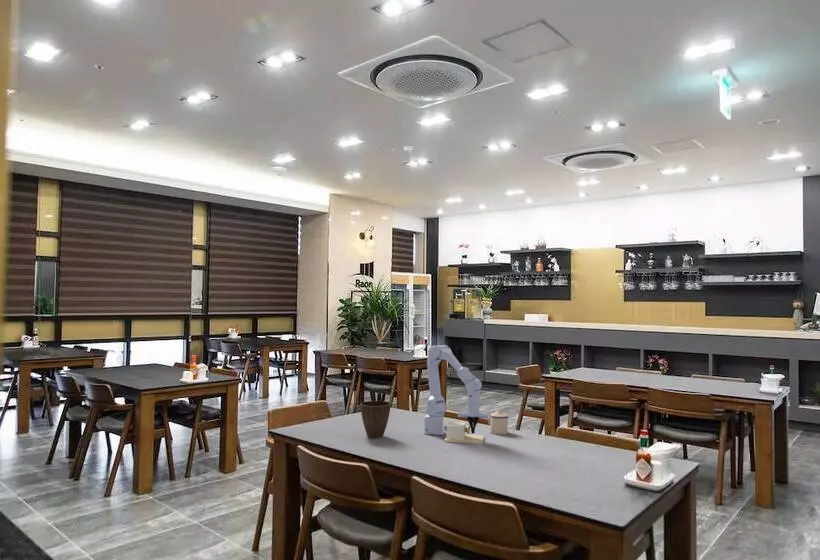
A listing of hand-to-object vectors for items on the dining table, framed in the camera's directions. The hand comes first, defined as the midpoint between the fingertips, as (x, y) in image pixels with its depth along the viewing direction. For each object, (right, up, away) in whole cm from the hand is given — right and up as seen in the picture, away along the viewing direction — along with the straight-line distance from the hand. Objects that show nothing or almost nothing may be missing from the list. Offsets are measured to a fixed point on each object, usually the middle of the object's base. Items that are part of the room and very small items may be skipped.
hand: (472, 433), depth 274 cm
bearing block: (-4, -3, +1) cm, 5 cm away
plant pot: (-47, -3, +3) cm, 47 cm away
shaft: (-8, 0, +1) cm, 8 cm away
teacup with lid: (+14, -5, +18) cm, 23 cm away
